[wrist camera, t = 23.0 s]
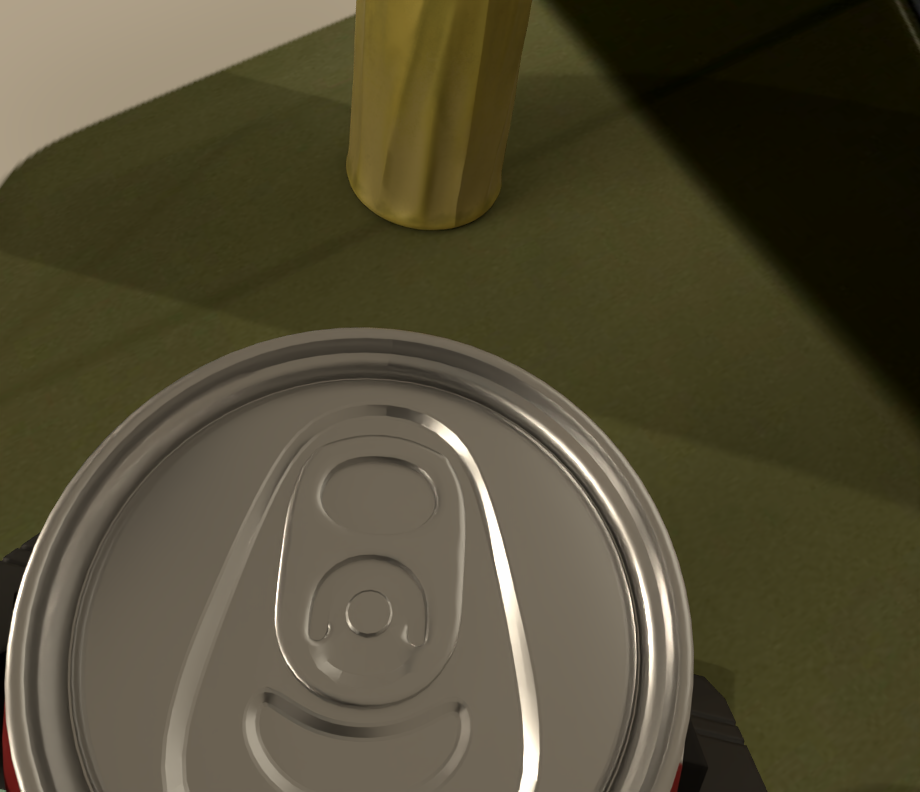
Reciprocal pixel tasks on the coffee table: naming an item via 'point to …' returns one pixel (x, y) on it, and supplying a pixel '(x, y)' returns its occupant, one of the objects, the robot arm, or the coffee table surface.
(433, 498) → the soda can
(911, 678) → the coffee table surface
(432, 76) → the vase
